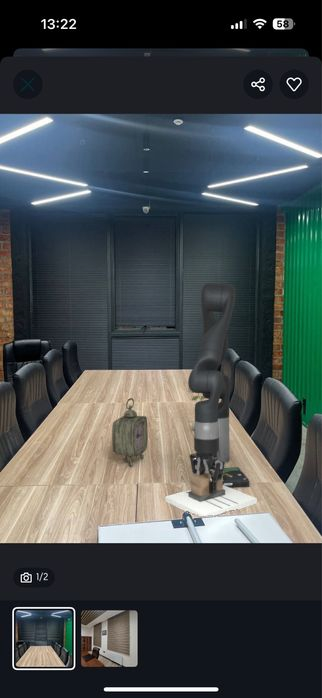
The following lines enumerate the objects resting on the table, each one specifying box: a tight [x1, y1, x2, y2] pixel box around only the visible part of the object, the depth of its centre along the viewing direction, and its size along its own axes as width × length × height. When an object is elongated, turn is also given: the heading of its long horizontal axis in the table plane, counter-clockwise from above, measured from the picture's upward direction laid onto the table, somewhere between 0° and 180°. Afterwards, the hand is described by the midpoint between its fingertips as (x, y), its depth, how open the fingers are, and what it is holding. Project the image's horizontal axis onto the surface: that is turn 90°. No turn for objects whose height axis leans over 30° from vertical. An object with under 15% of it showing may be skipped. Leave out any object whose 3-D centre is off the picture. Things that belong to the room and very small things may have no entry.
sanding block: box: [188, 472, 225, 502], centre depth 153 cm, size 10×6×6 cm, turn 125°
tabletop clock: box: [111, 397, 149, 468], centre depth 193 cm, size 14×9×25 cm, turn 160°
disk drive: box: [210, 466, 251, 489], centre depth 172 cm, size 10×3×15 cm
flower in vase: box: [187, 387, 206, 430], centre depth 247 cm, size 13×11×25 cm
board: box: [164, 485, 258, 516], centre depth 152 cm, size 18×21×2 cm
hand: (206, 490), depth 153 cm, fingers closed on sanding block, 4 cm apart
